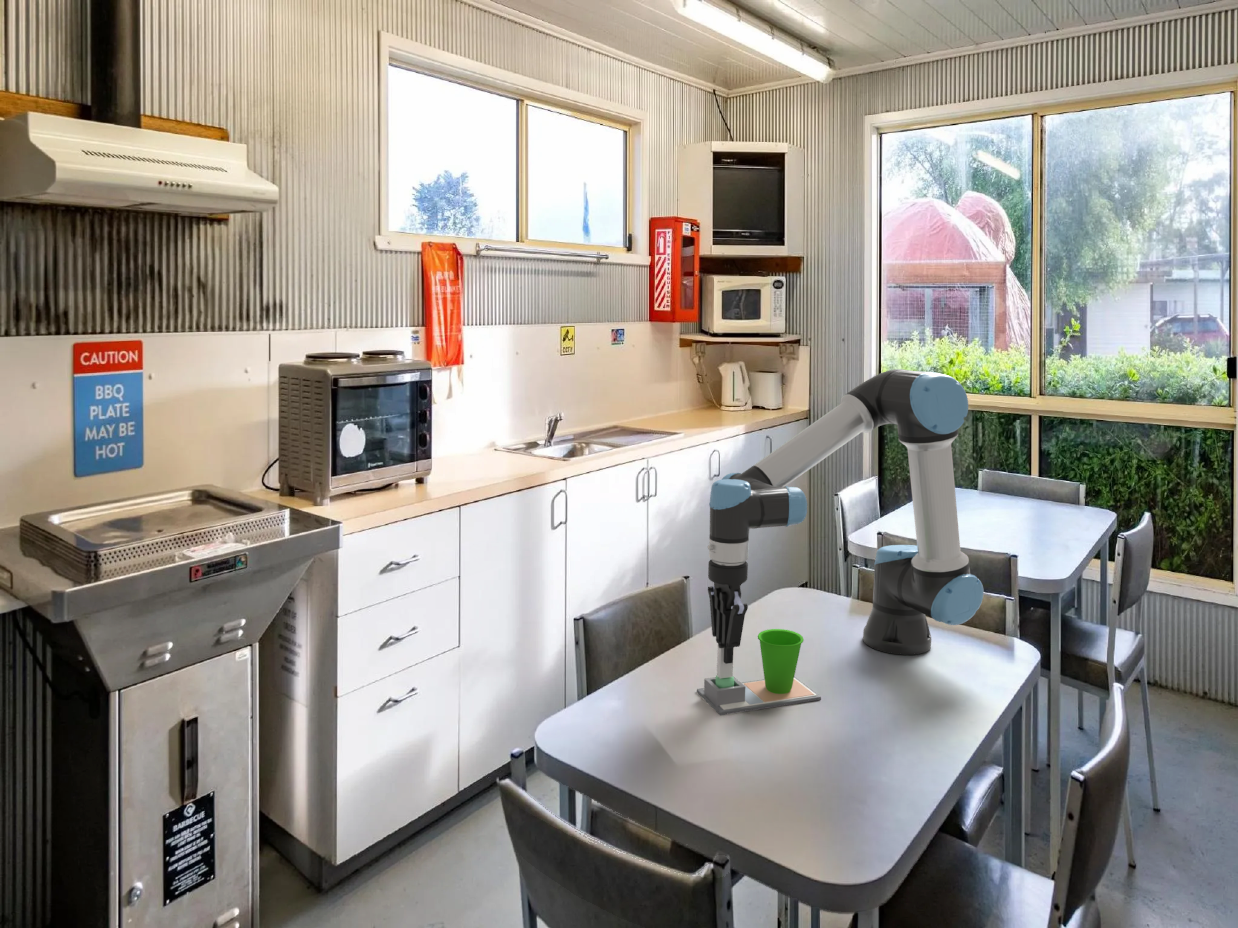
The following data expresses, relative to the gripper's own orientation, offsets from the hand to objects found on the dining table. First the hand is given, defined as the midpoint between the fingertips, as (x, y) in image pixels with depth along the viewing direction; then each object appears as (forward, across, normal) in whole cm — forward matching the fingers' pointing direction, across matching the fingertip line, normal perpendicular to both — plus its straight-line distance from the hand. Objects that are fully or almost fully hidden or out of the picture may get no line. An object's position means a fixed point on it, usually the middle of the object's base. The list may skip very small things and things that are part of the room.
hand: (724, 676), depth 175 cm
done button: (+3, 0, 0) cm, 3 cm away
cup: (+5, 0, +12) cm, 13 cm away
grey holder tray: (+5, 0, +8) cm, 9 cm away
